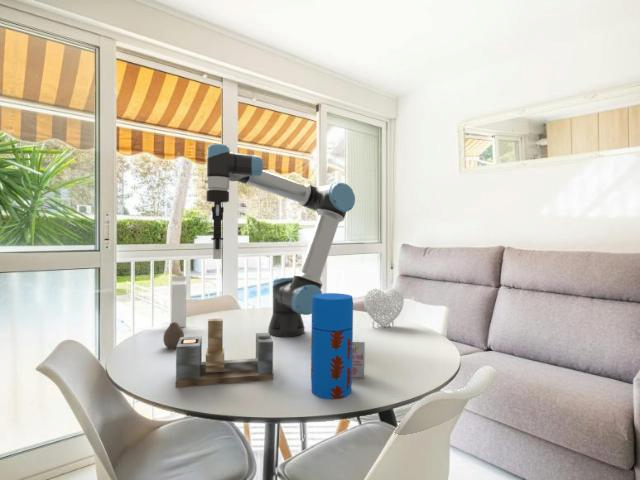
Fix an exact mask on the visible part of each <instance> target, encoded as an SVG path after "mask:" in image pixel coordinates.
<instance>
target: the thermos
mask: <svg viewBox="0 0 640 480" xmlns="http://www.w3.org/2000/svg"><path fill="white" fill-rule="evenodd" d="M353 299H354V298H353V295H350V294H346V293H336V292H335V293H334V292H327V293H326V292H325V293H322V294H316V295H313V298H312V314H311V333H310V334H311V341H310V342H311V345H310V346H311V348H310V349H311V351H310V352H311V353H310V355H311V357H310V358H311V359H310V382H311V383H310V384H311V393H312V394H313V395H314V396H316V397H318V398H321V399H326V400H338V399H343V398H346V397H348V396H350V395H351V393H352V385H353V383H352V382H353V378H352V348H353V342H354V340H353V339H354V337H353V335H354V334H353V333H354V332H353V331H354V330H353V329H354V300H353Z"/></svg>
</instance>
